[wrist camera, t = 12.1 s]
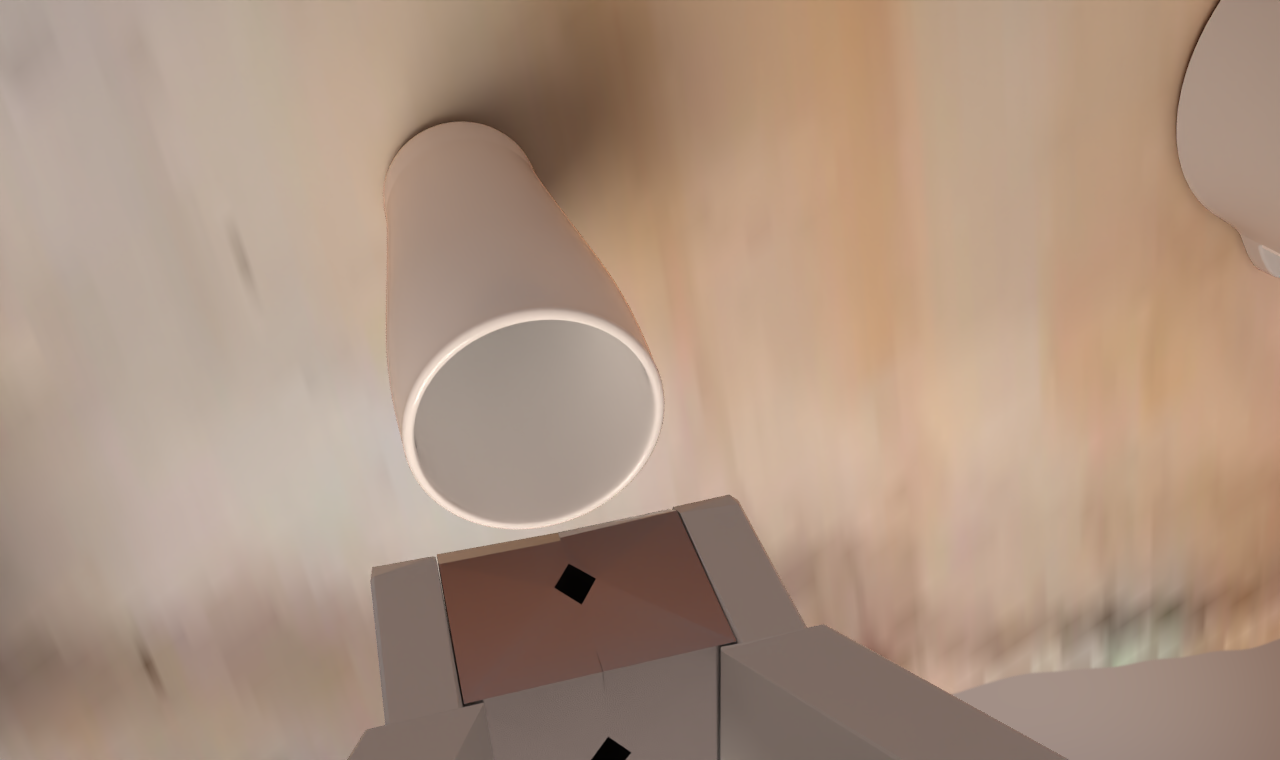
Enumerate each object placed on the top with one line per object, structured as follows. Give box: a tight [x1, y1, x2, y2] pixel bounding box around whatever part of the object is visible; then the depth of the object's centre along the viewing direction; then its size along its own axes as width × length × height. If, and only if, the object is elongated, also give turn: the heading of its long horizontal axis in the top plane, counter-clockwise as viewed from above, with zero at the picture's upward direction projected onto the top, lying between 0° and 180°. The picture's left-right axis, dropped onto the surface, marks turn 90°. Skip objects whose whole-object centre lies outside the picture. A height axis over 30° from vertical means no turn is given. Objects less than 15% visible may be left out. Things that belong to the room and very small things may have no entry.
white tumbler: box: [383, 121, 665, 529], centre depth 35 cm, size 7×7×15 cm
